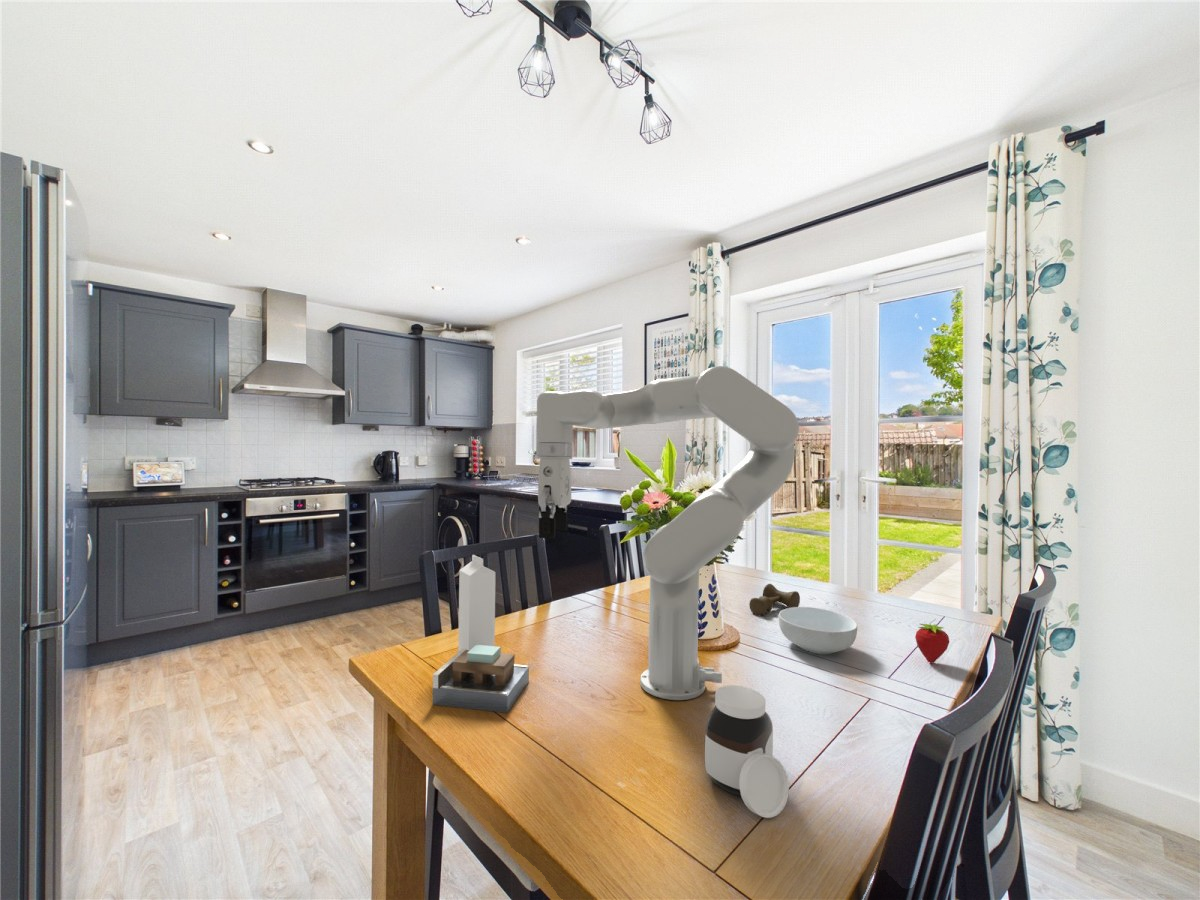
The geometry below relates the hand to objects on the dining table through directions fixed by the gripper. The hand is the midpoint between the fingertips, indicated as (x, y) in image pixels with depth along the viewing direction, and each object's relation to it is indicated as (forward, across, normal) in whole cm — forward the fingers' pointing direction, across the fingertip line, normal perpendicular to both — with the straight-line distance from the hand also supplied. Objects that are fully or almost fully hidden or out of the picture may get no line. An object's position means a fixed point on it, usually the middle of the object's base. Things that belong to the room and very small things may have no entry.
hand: (553, 533), depth 104 cm
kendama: (+29, +53, -53) cm, 80 cm away
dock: (+28, -12, +10) cm, 32 cm away
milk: (+28, +3, +18) cm, 34 cm away
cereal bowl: (+29, +24, -58) cm, 69 cm away
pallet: (+25, -12, +10) cm, 30 cm away
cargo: (+22, -12, +10) cm, 27 cm away
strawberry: (+29, +20, -81) cm, 88 cm away
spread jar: (+29, -30, -36) cm, 55 cm away
